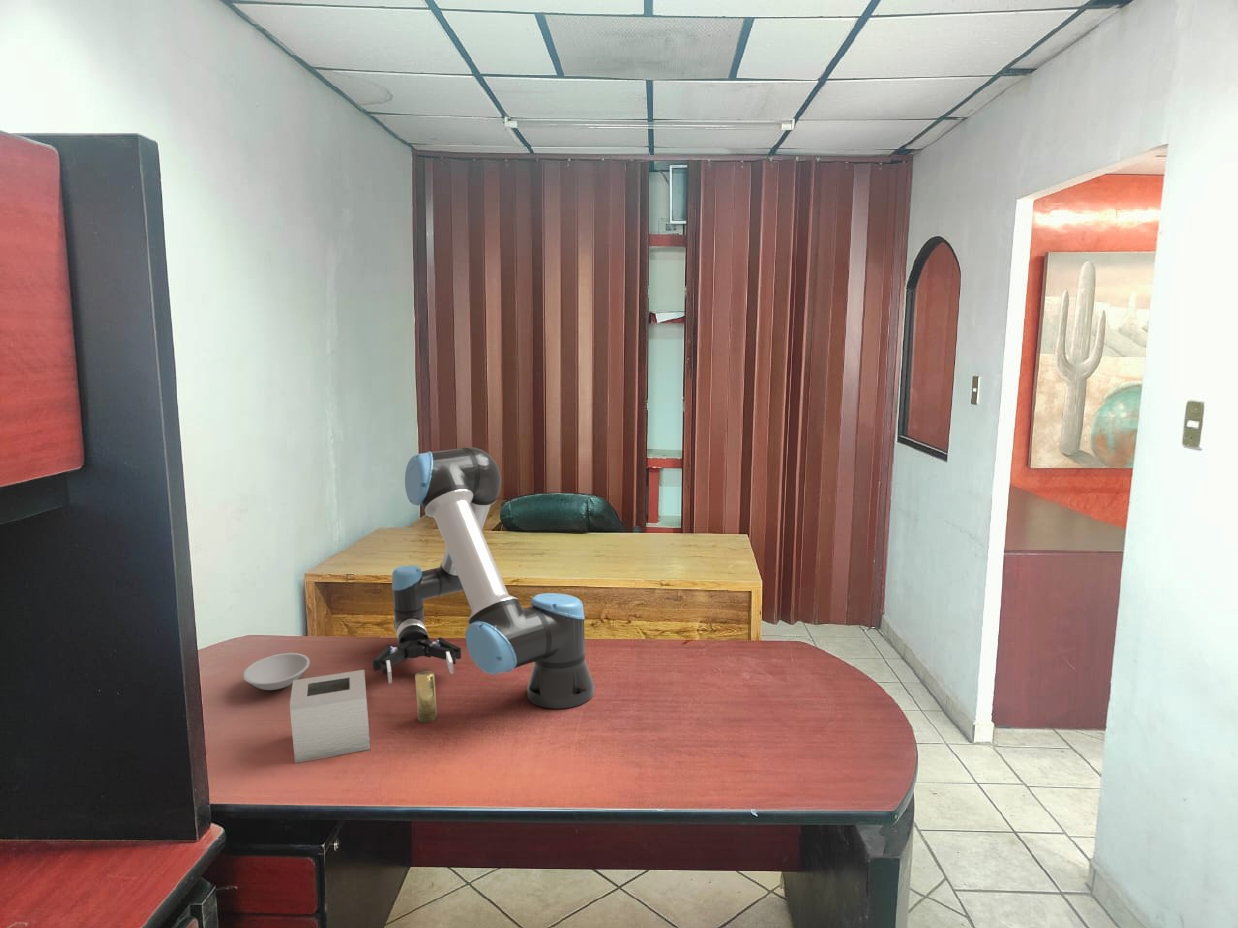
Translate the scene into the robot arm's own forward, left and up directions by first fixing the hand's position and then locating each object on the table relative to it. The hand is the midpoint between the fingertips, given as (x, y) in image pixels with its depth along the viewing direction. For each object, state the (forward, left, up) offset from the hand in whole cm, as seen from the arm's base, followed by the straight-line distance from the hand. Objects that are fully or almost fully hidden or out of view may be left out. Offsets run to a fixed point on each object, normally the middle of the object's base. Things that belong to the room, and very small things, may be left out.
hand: (421, 672), depth 177 cm
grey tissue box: (+12, +20, -6) cm, 24 cm away
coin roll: (-4, +9, -6) cm, 12 cm away
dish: (+37, -4, -7) cm, 38 cm away
